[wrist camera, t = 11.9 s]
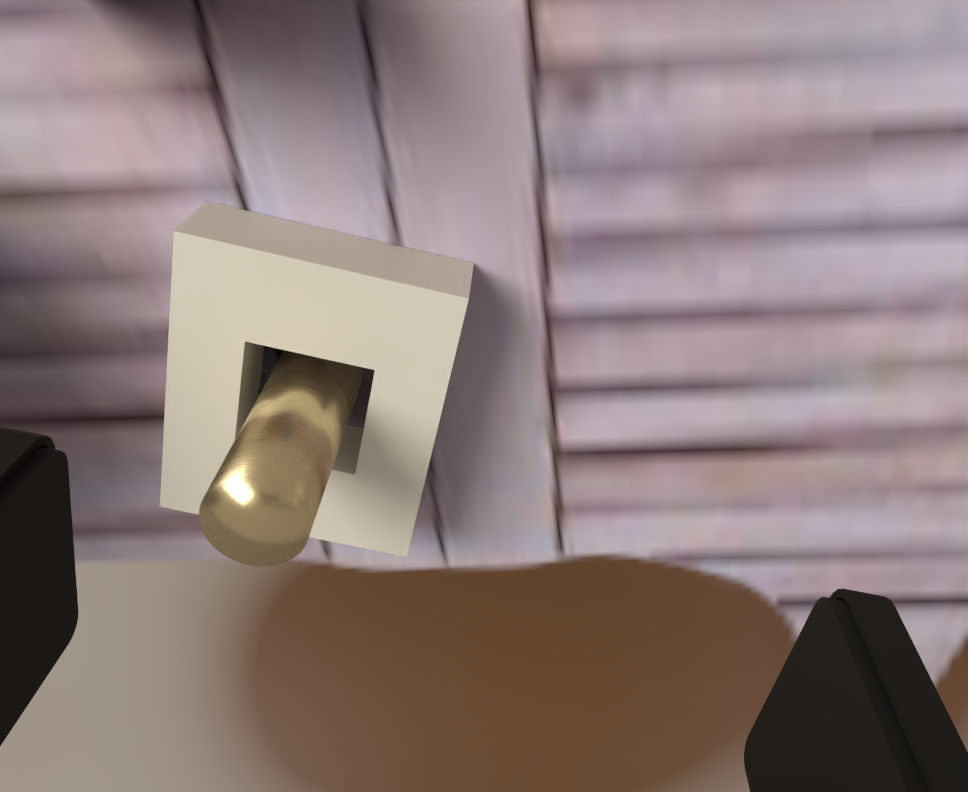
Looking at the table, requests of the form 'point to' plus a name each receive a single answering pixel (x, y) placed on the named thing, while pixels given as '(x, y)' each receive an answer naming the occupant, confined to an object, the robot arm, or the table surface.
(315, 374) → the gold cylindrical peg
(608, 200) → the table surface
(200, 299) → the white square socket block
